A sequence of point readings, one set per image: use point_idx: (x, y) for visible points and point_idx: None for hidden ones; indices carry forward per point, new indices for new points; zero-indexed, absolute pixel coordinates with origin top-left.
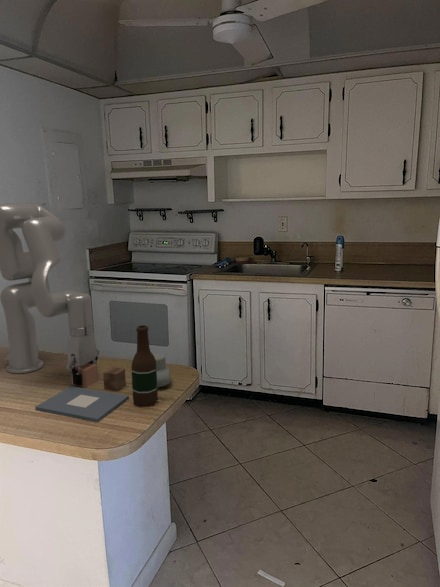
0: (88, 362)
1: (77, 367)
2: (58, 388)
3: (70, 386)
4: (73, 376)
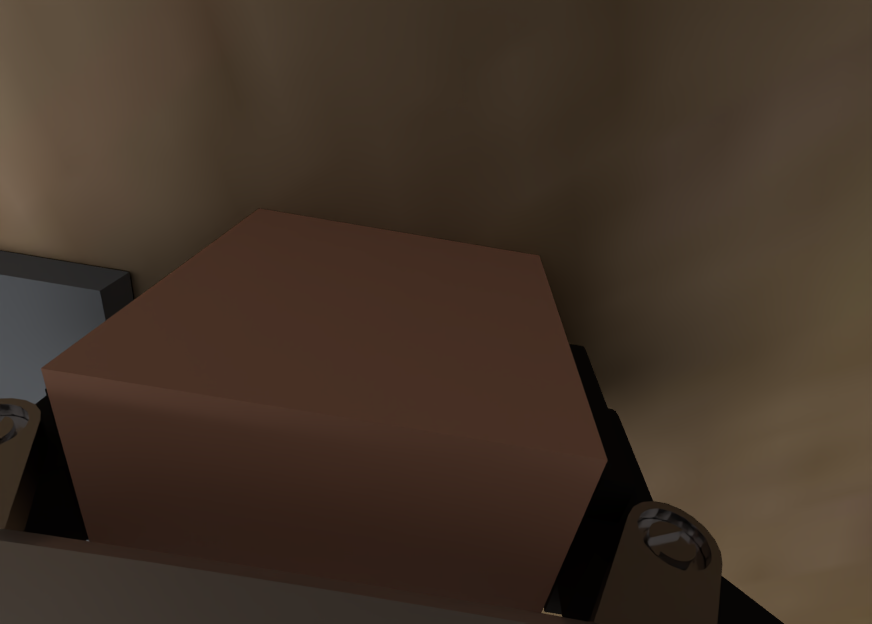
0: (606, 579)
1: (178, 496)
2: (41, 52)
3: (83, 291)
4: (47, 403)
